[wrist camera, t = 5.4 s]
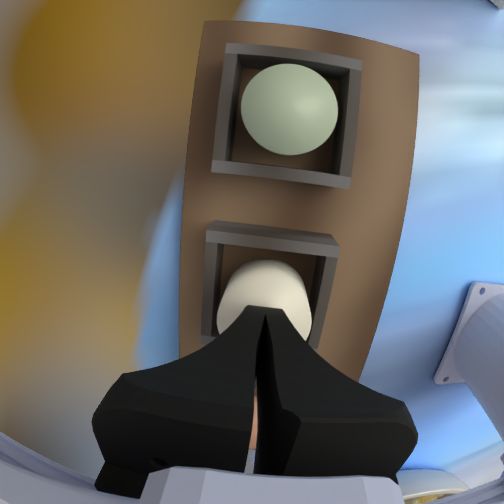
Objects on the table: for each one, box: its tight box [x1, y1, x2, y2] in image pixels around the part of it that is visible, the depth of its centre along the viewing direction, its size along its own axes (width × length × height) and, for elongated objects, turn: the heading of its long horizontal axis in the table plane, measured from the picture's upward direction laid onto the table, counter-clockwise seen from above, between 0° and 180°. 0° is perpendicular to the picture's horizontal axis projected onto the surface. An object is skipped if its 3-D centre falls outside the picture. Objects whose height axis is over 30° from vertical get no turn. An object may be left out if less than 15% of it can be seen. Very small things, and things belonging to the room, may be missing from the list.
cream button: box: [217, 258, 312, 341], centre depth 13 cm, size 4×4×2 cm
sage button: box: [241, 64, 338, 156], centre depth 12 cm, size 4×4×2 cm
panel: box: [179, 21, 419, 450], centre depth 15 cm, size 11×26×3 cm, turn 174°
